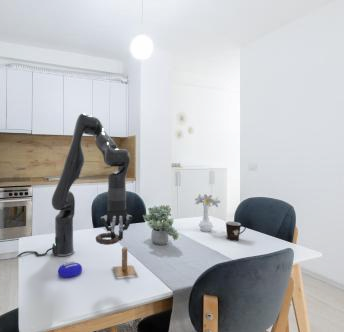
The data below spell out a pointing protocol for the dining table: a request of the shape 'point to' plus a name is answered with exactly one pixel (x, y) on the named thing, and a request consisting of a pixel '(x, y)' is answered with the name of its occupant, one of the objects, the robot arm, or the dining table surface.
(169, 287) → the dining table surface
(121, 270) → the post
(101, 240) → the ring
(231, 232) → the coffee mug
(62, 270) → the decorative object
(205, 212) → the flower vase
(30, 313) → the dining table surface
